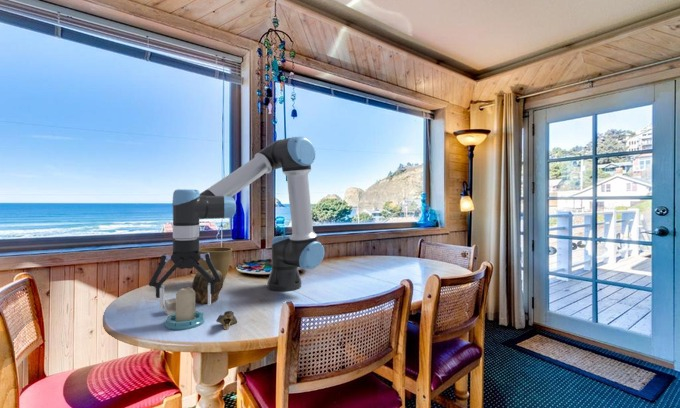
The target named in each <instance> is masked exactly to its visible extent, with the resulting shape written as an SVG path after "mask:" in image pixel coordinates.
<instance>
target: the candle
mask: <svg viewBox="0 0 680 408" xmlns="http://www.w3.org/2000/svg"><path fill="white" fill-rule="evenodd" d="M175 298H176V322H181V321H190V320H193V319H195V311H196V302H195V291H194V290H193V288H192V286H191V287H189V286H188V287H185V288H179V290H178V291H177V292H176V293H175Z"/></svg>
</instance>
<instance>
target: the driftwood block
mask: <svg viewBox="0 0 680 408" xmlns="http://www.w3.org/2000/svg"><path fill="white" fill-rule="evenodd" d="M164 313H166V315H167V316H169V315H172V314H175V313H176V297H175V298H171V299H164Z"/></svg>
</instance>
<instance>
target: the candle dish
mask: <svg viewBox="0 0 680 408" xmlns="http://www.w3.org/2000/svg"><path fill="white" fill-rule="evenodd" d="M204 322H205V314H204V312H201V311H197V310H195V319H193V320H190V321H181V322H176V313H175V314H172V315H167V317H166V319H165V322H164V323H165V325H164V326H165V328H166V329H169V330H173V331H182V330H183V331H184V330H190V329H193V328H194V329H195V328H197V327H199V326H201V325H203V324H204Z"/></svg>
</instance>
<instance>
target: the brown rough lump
mask: <svg viewBox="0 0 680 408" xmlns="http://www.w3.org/2000/svg"><path fill="white" fill-rule="evenodd" d="M206 271H207V272H208V273H209V274H210V275H211V276H212V277H213V279H214V278H215V277H214V276H213V274H212V272H211V270H209V269H208V270H206ZM217 272H218V274H219V276H220V278H221V279H220V281H219V282H216V283H215V292H214V294H211V304H212V303H215V302H216V301H218V299H219V298H220V296H219V294H220V293H221V291H222V289H223V286H224V282H223V275H222V273H221V272H220V271H219V270H217ZM208 283H209V282H208V280H207V279H206V278H205V277H204V276H203V275H202V274H201V273H200V272H199V271H198V272H197V273H196V274H195V276H194V277H193V279H192V285H191V288H192V289H193V290H194V291H195V304H208Z"/></svg>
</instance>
